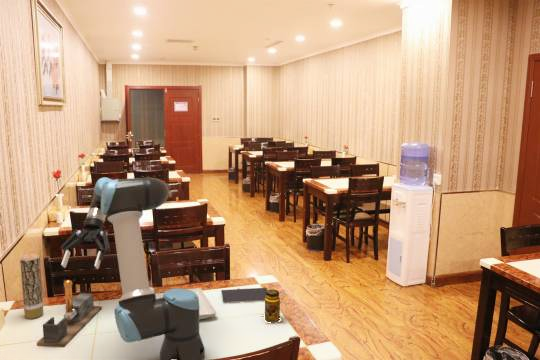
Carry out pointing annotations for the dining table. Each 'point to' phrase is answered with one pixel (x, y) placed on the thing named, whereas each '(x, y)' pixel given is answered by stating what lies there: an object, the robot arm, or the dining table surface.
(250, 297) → the notebook
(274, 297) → the condiment
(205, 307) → the square plate
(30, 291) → the grey patterned cylinder
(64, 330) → the stand
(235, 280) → the dining table surface
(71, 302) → the wooden handle lever
